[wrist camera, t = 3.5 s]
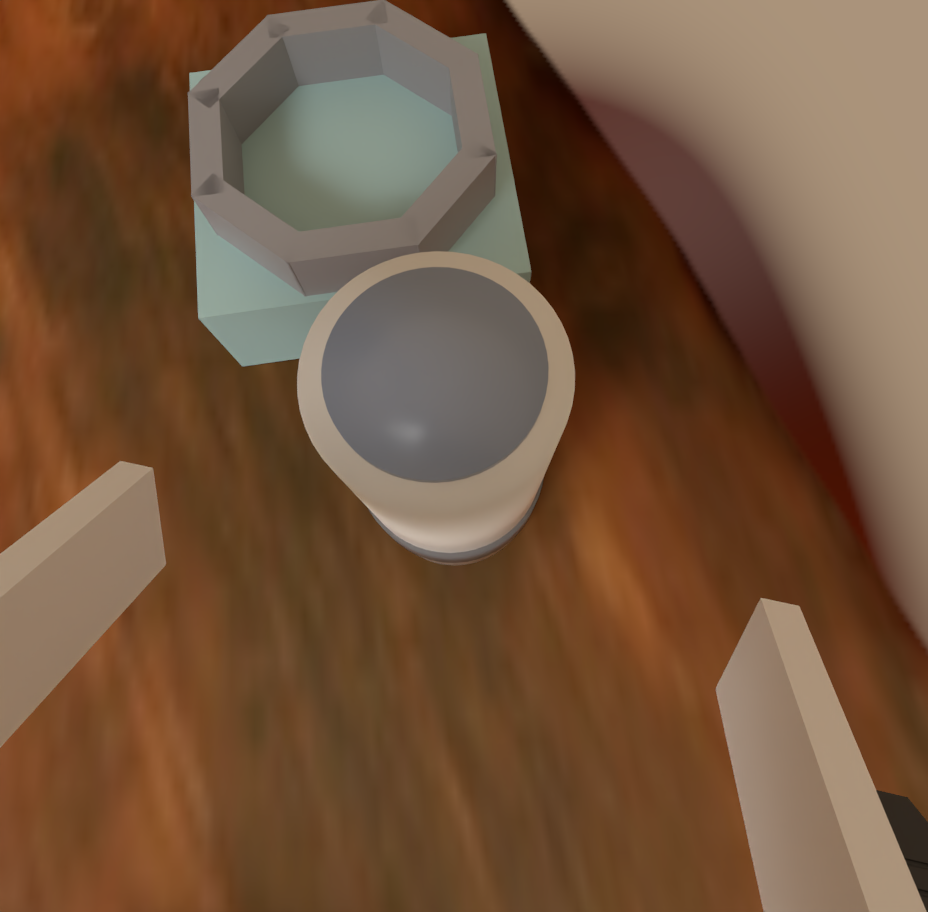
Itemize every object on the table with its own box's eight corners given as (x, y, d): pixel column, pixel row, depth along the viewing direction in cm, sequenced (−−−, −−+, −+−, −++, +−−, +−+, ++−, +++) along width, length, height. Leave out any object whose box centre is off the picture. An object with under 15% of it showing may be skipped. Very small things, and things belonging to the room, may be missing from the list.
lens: (370, 426, 24) (278, 259, 13) (520, 405, 24) (553, 221, 13) (386, 579, 22) (298, 535, 12) (546, 555, 23) (610, 490, 12)
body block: (230, 151, 27) (163, 23, 21) (484, 116, 27) (486, -20, 22) (242, 366, 25) (169, 286, 19) (523, 326, 25) (536, 235, 19)
